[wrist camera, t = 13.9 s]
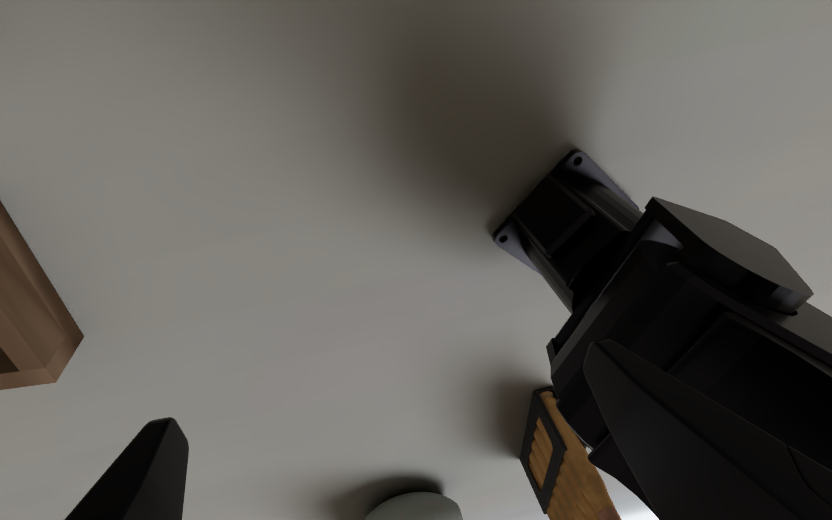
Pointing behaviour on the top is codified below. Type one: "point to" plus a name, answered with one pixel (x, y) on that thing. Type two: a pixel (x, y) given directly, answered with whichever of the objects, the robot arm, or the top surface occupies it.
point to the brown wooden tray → (30, 316)
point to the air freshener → (416, 508)
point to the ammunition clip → (561, 466)
